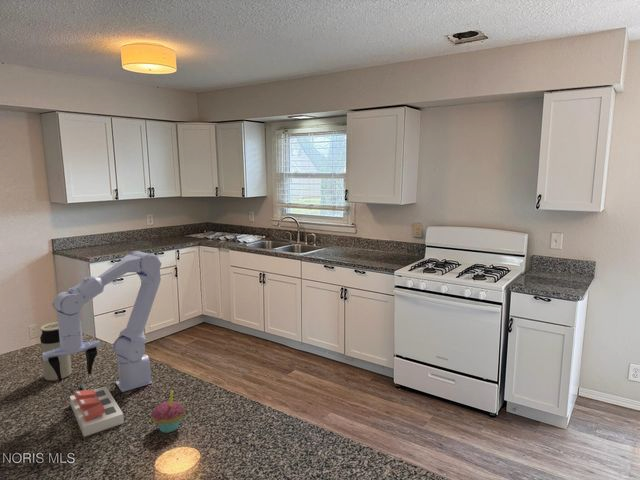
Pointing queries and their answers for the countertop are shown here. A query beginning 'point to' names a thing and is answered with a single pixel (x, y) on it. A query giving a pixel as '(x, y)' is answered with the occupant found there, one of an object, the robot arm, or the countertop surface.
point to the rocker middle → (88, 402)
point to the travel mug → (52, 342)
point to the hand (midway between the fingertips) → (74, 376)
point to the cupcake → (168, 415)
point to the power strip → (103, 421)
